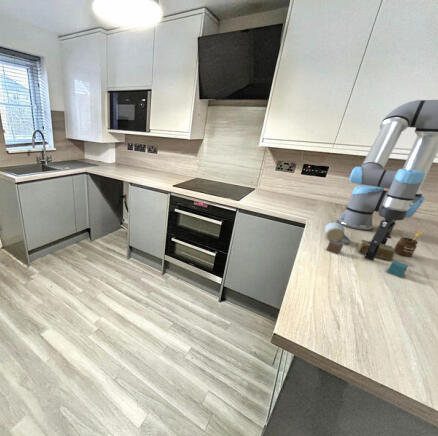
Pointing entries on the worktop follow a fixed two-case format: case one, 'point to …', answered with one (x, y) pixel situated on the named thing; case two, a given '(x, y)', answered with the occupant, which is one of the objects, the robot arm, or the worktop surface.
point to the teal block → (397, 268)
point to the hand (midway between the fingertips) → (373, 254)
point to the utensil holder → (407, 245)
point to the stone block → (383, 251)
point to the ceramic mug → (336, 232)
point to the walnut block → (334, 246)
